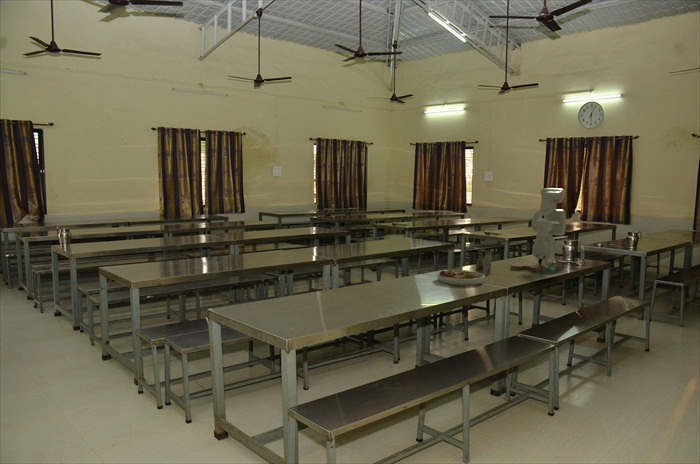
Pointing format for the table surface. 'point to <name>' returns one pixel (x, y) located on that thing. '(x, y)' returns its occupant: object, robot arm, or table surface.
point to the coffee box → (483, 261)
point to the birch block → (546, 263)
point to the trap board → (533, 268)
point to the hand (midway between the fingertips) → (540, 264)
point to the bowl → (460, 277)
